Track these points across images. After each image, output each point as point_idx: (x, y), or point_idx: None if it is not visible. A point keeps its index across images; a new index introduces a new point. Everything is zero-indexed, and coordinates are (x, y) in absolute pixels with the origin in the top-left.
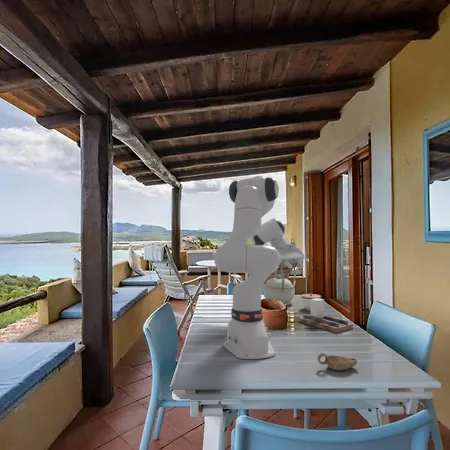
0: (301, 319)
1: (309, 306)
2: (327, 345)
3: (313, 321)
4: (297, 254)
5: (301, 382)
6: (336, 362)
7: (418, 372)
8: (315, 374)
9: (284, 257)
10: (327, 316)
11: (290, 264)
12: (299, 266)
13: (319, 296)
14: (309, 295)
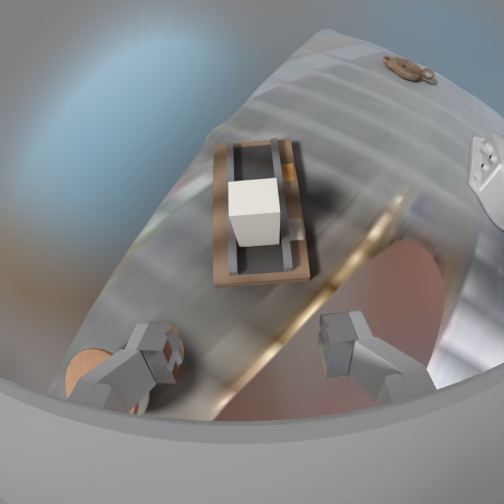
0: (308, 264)
1: None
2: (370, 114)
3: (298, 213)
4: (16, 454)
5: (457, 86)
6: (410, 69)
7: (318, 36)
8: (438, 84)
9: (477, 400)
10: None
11: (354, 334)
12: (176, 331)
13: (83, 354)
14: None
